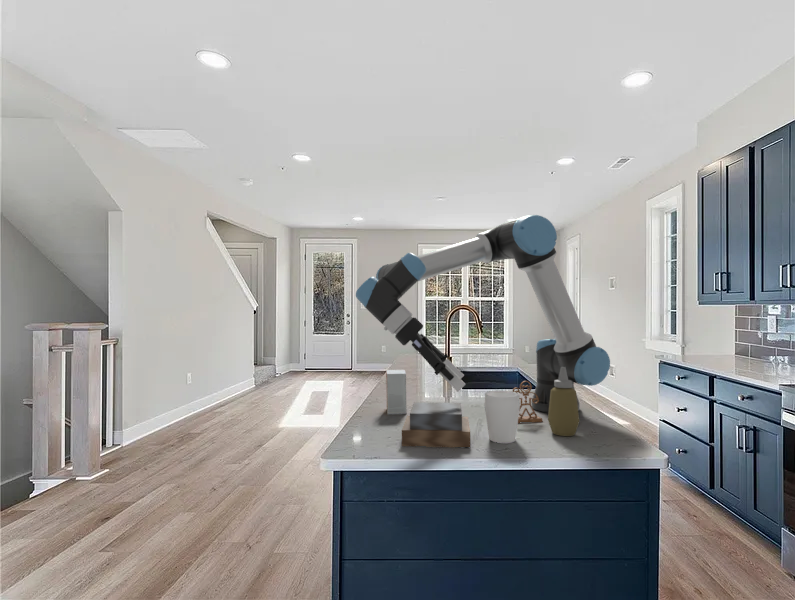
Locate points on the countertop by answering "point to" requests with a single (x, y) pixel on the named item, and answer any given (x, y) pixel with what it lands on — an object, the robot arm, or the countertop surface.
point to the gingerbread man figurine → (527, 418)
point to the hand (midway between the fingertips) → (461, 383)
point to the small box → (396, 391)
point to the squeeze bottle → (563, 406)
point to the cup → (502, 415)
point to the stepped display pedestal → (436, 426)
